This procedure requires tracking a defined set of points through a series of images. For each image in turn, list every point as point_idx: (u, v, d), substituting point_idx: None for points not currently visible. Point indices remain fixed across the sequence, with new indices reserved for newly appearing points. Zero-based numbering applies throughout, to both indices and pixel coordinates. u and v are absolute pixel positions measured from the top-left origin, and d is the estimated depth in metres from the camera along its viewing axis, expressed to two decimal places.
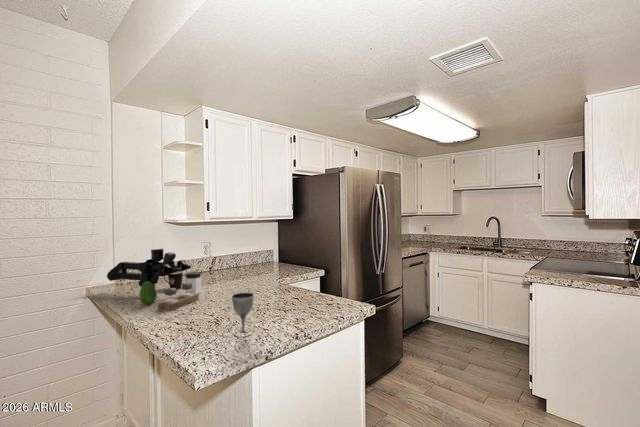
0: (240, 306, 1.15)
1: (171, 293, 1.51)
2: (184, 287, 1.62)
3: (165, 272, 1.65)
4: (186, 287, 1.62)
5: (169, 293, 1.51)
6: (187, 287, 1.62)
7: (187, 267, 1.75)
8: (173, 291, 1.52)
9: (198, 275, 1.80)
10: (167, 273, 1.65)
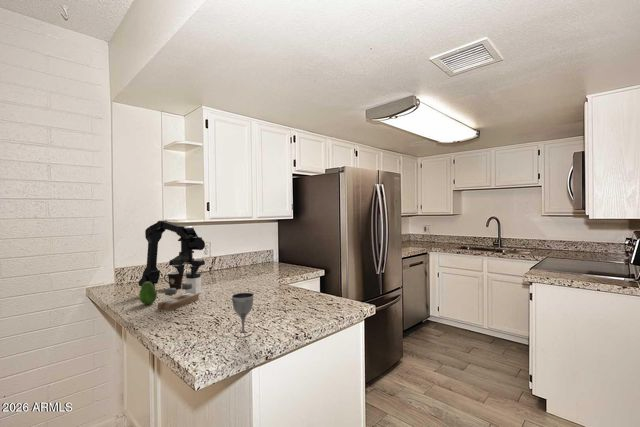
0: (240, 306, 1.15)
1: (171, 293, 1.51)
2: (184, 287, 1.62)
3: None
4: (186, 287, 1.62)
5: (169, 293, 1.51)
6: (187, 287, 1.62)
7: None
8: (173, 291, 1.52)
9: (198, 275, 1.80)
10: None
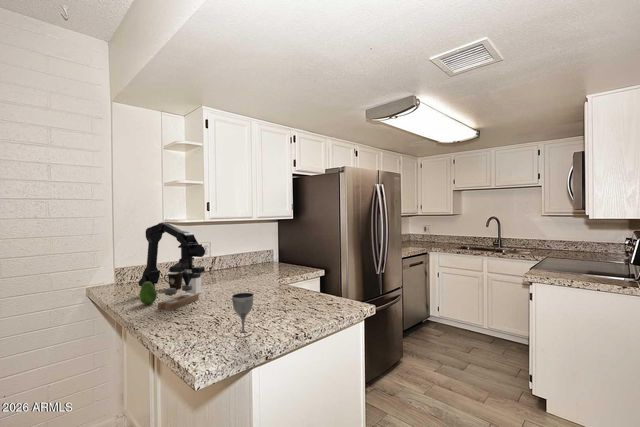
0: (240, 306, 1.15)
1: (171, 293, 1.51)
2: (184, 288, 1.62)
3: None
4: (186, 288, 1.62)
5: (169, 293, 1.51)
6: (187, 288, 1.62)
7: None
8: (173, 291, 1.52)
9: (198, 275, 1.80)
10: None
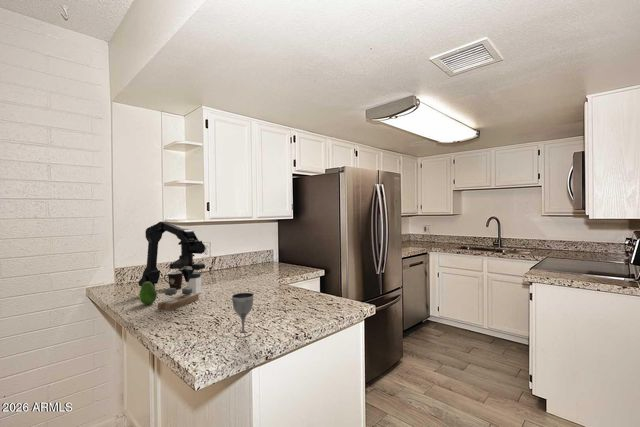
0: (240, 306, 1.15)
1: (171, 293, 1.51)
2: (184, 292, 1.62)
3: None
4: (186, 292, 1.62)
5: (169, 293, 1.51)
6: (187, 292, 1.62)
7: None
8: (173, 291, 1.52)
9: (198, 275, 1.80)
10: None
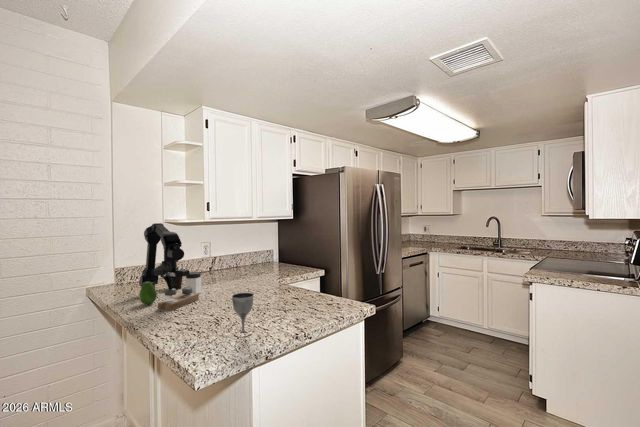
0: (240, 306, 1.15)
1: (171, 293, 1.51)
2: (184, 292, 1.62)
3: None
4: (186, 292, 1.62)
5: (169, 293, 1.51)
6: (187, 292, 1.62)
7: None
8: (173, 291, 1.52)
9: (198, 275, 1.80)
10: None
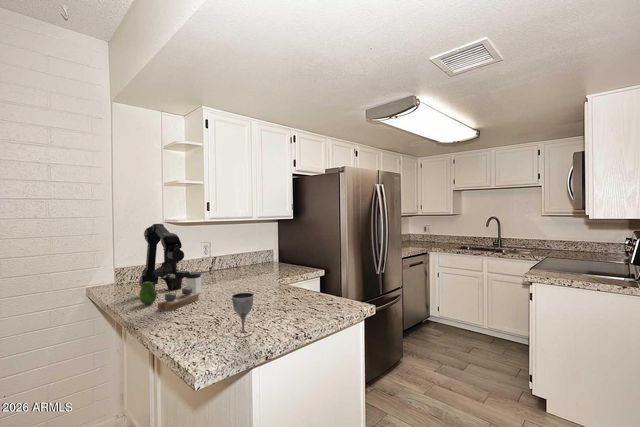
0: (240, 306, 1.15)
1: (171, 298, 1.51)
2: (184, 292, 1.62)
3: None
4: (186, 292, 1.62)
5: (169, 298, 1.51)
6: (187, 292, 1.62)
7: None
8: (173, 296, 1.52)
9: (198, 275, 1.80)
10: None
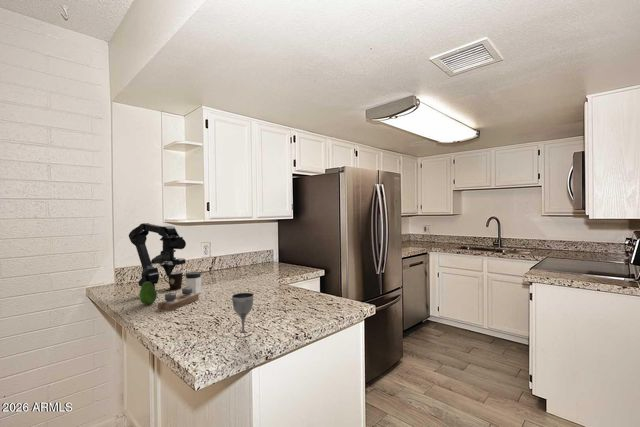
0: (240, 306, 1.15)
1: (171, 298, 1.51)
2: (184, 292, 1.62)
3: None
4: (186, 292, 1.62)
5: (169, 298, 1.51)
6: (187, 292, 1.62)
7: None
8: (173, 296, 1.52)
9: (198, 275, 1.80)
10: None
